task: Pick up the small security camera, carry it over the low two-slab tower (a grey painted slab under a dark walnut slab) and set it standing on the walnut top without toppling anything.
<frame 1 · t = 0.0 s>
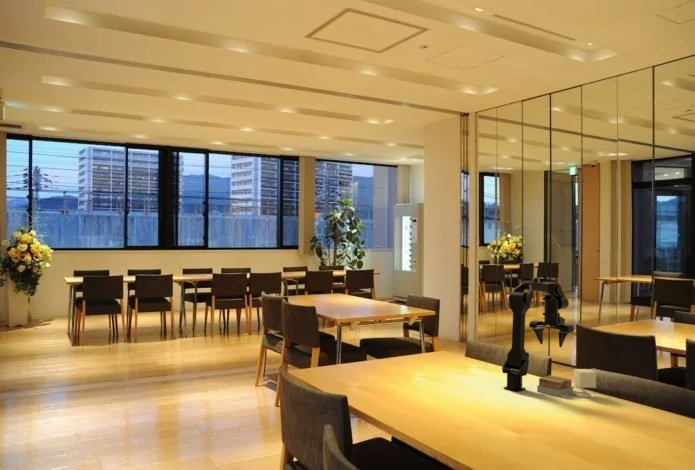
hand: (550, 345, 253), 15 cm above the table, fingers open, 9 cm apart
tower base: (555, 393, 230), on the table, touching tower top
tower top: (555, 386, 230), point 2 cm above the table, touching tower base
security camera: (583, 396, 225), on the table
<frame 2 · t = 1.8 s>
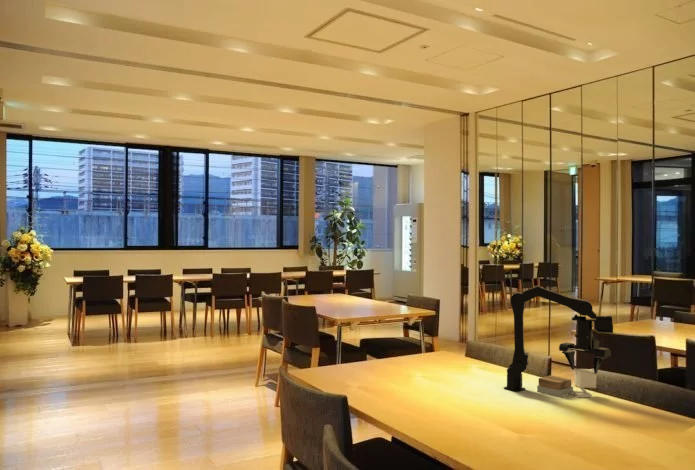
hand: (584, 371, 225), 10 cm above the table, fingers open, 9 cm apart
tower base: (555, 393, 230), on the table
tower top: (554, 386, 230), point 2 cm above the table
security camera: (583, 396, 225), on the table, touching gripper
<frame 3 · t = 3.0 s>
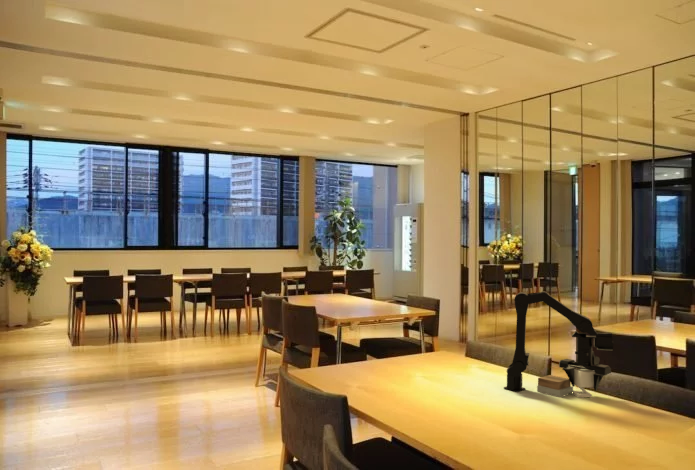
hand: (584, 388, 225), 3 cm above the table, fingers closed on security camera, 9 cm apart
tower base: (555, 393, 230), on the table, touching tower top
tower top: (554, 385, 231), point 2 cm above the table, touching tower base
security camera: (583, 396, 226), on the table, touching gripper
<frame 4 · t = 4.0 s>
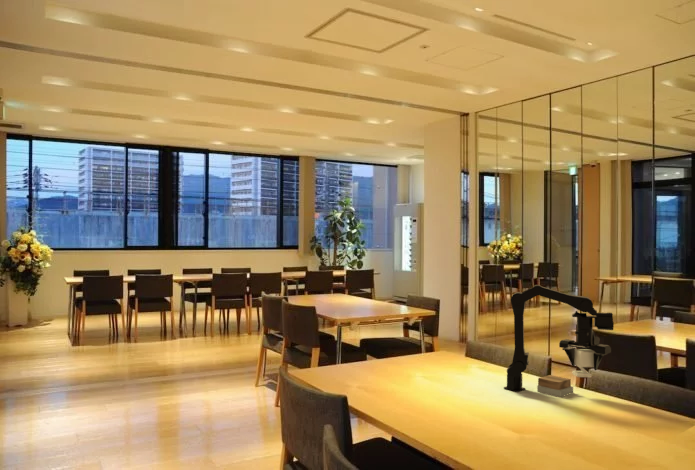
hand: (584, 368, 225), 11 cm above the table, fingers closed on security camera, 9 cm apart
security camera: (583, 376, 226), point 8 cm above the table, touching gripper
everything else where it was.
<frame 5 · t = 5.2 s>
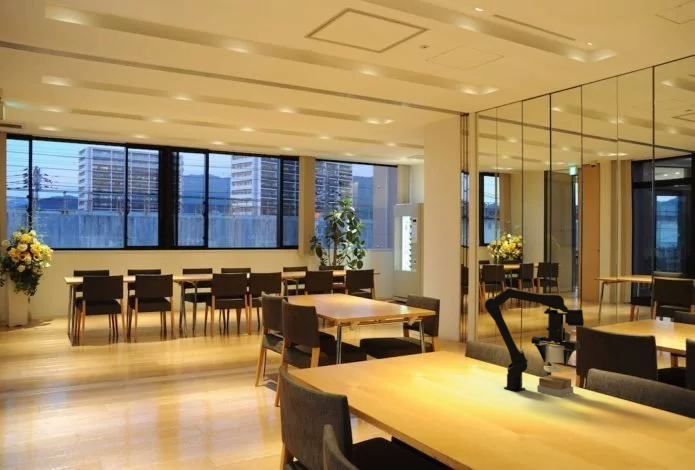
hand: (555, 363, 231), 11 cm above the table, fingers closed on security camera, 9 cm apart
security camera: (554, 371, 231), point 8 cm above the table, touching gripper
everything else where it was.
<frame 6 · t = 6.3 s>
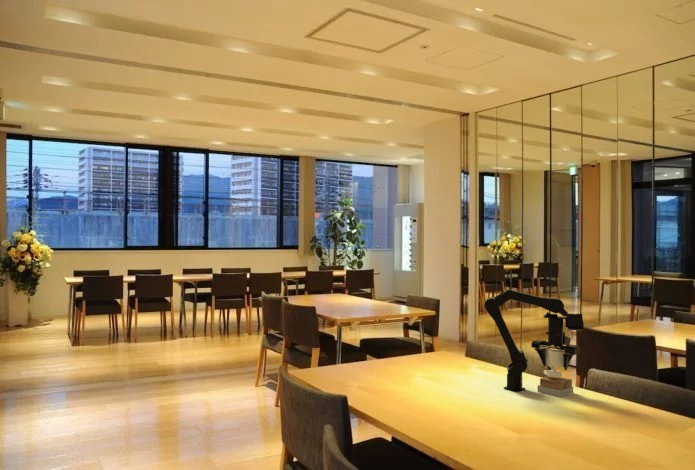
hand: (555, 368, 231), 10 cm above the table, fingers closed on security camera, 9 cm apart
security camera: (554, 375, 231), point 7 cm above the table, touching gripper
everything else where it was.
when the fingers open (10 cm above the table, at t = 6.6 s): security camera drops 2 cm, point 5 cm above the table.
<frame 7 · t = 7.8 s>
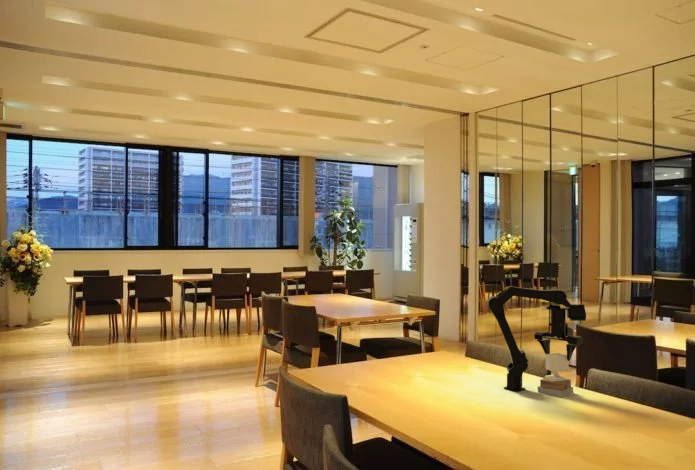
hand: (558, 359, 232), 13 cm above the table, fingers open, 9 cm apart
security camera: (556, 380, 230), point 5 cm above the table
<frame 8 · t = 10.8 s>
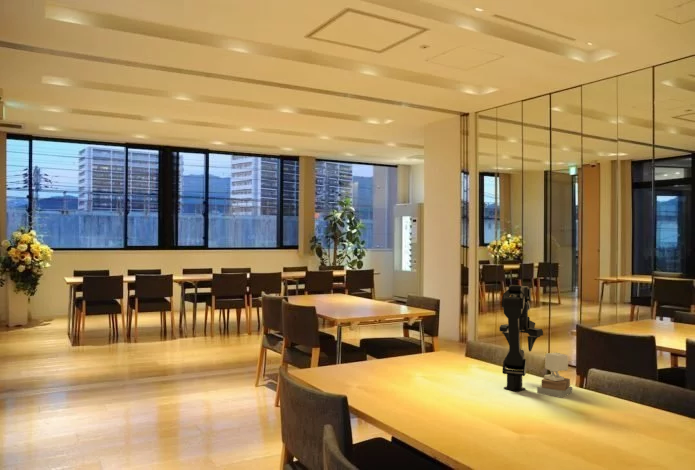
hand: (520, 349, 252), 13 cm above the table, fingers open, 9 cm apart
tower top: (555, 386, 230), point 2 cm above the table, touching security camera, tower base
security camera: (555, 379, 230), point 5 cm above the table, touching tower top
everything else where it was.
at the end: security camera inside the target area (0.4 cm from its centre), point 5.2 cm above the table; security camera tilted 3°; tower top 0.5 cm from the tower base (horizontally) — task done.
